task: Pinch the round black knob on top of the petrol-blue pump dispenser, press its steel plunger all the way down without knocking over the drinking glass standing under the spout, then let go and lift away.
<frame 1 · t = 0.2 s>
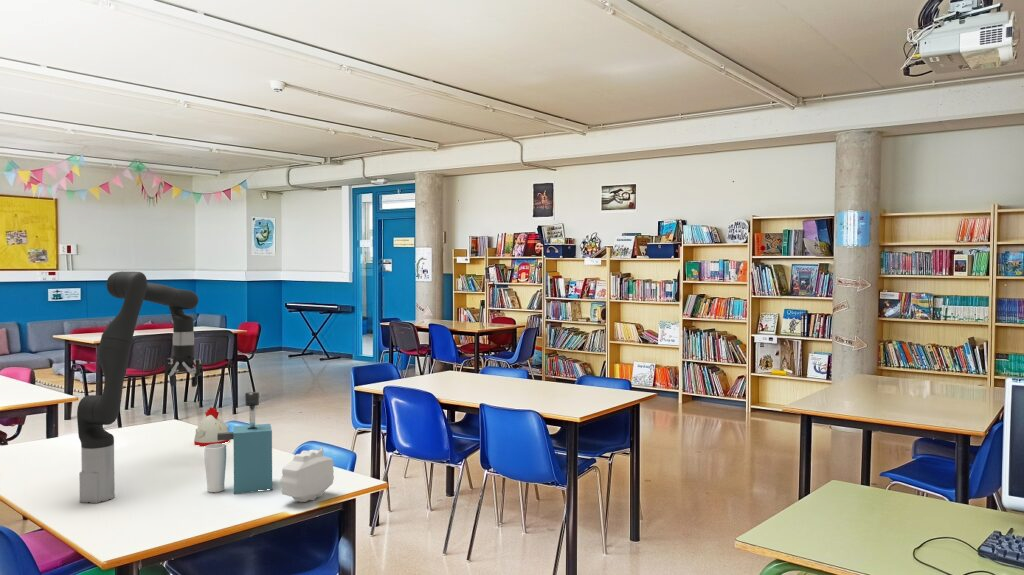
hand: (183, 386, 284), 29 cm above the table, tool pointing down, fingers open, 8 cm apart
dispenser: (252, 487, 253), on the table
kitchen timer: (212, 443, 318), on the table
drinking glass: (215, 491, 249), on the table
white stepped block: (306, 500, 240), on the table
plunger: (252, 415, 253), point 25 cm above the table, slide at 0.0 cm
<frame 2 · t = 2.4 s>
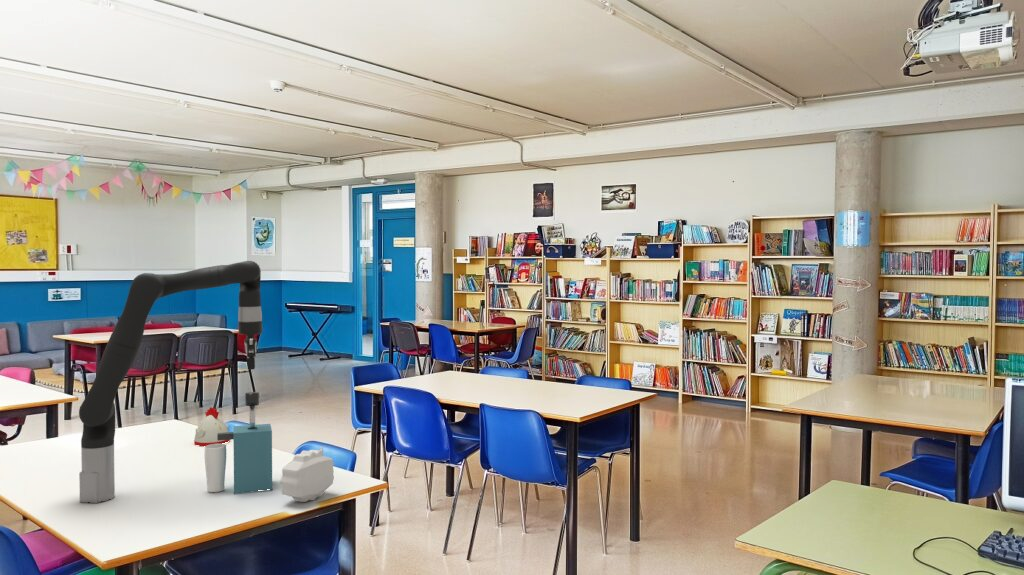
hand: (251, 367, 253), 40 cm above the table, tool pointing down, fingers open, 8 cm apart
nothing on the table moved.
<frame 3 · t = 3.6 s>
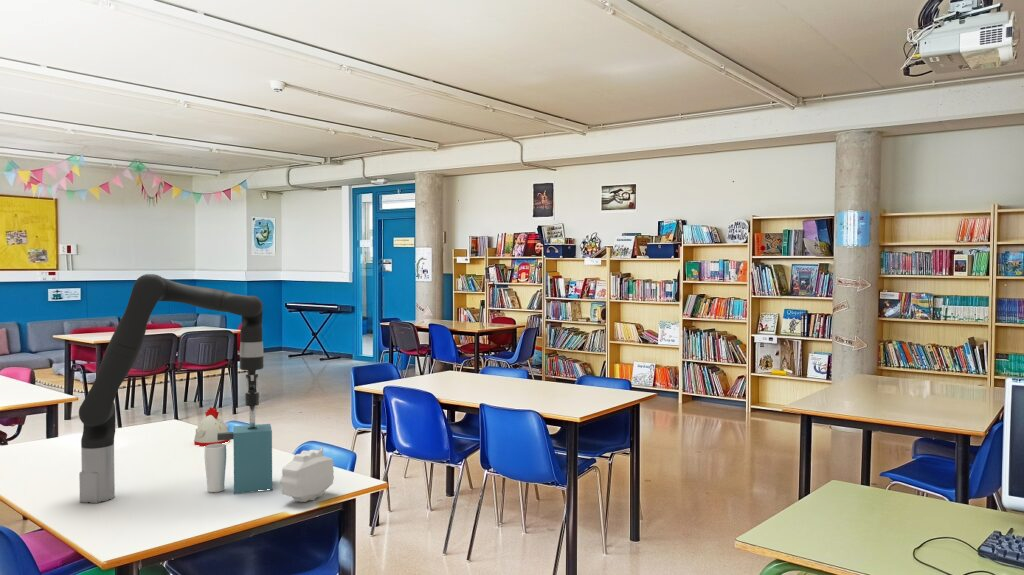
hand: (252, 403, 252), 29 cm above the table, tool pointing down, fingers open, 8 cm apart
nothing on the table moved.
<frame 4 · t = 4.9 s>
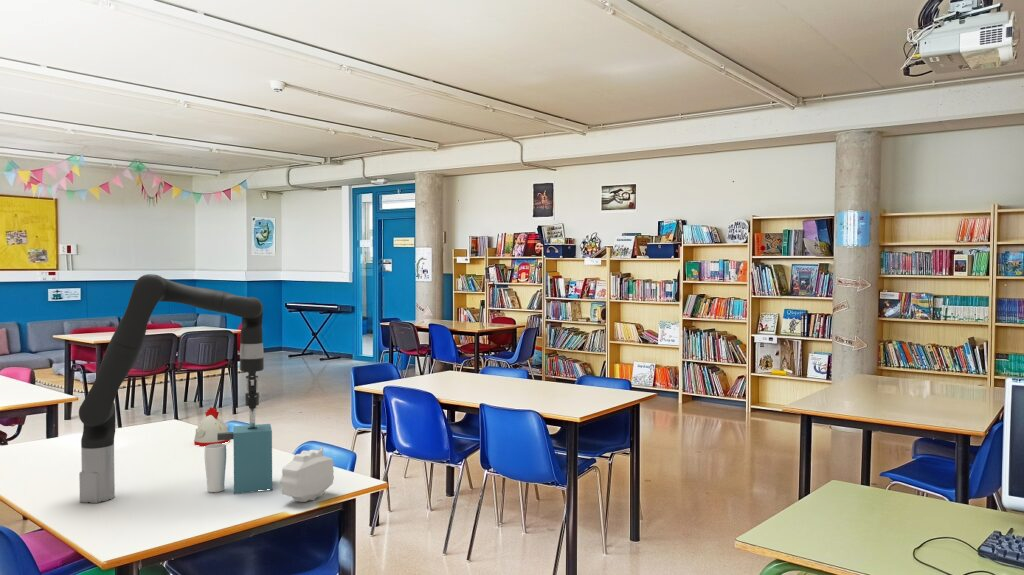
hand: (252, 406, 253), 27 cm above the table, tool pointing down, fingers closed on plunger, 4 cm apart
plunger: (252, 415, 253), point 24 cm above the table, slide at 0.0 cm, touching gripper
everything else where it was.
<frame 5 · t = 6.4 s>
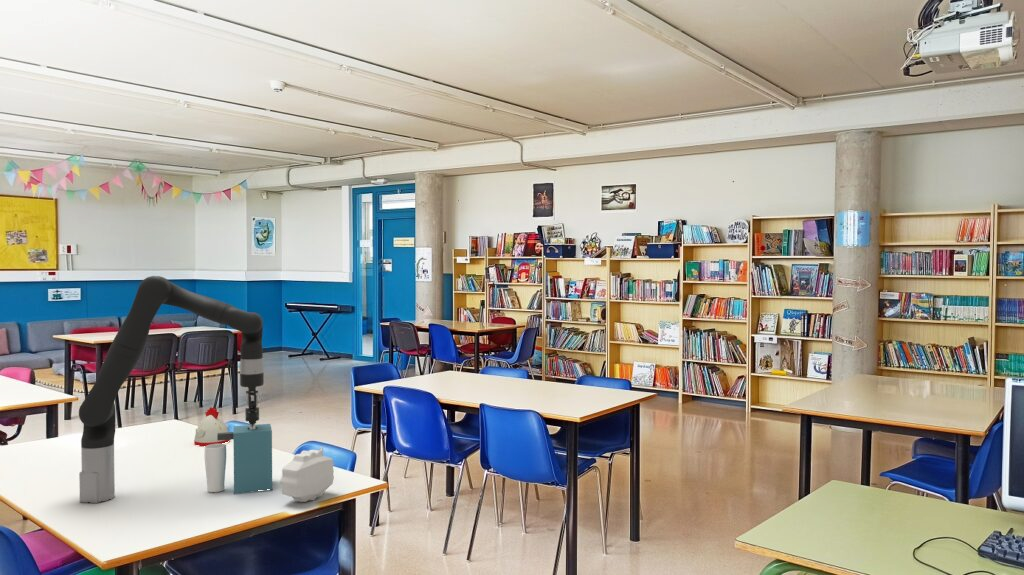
hand: (252, 422, 253), 22 cm above the table, tool pointing down, fingers closed on plunger, 4 cm apart
plunger: (252, 430, 253), point 19 cm above the table, slide at 5.2 cm, touching gripper
everything else where it was.
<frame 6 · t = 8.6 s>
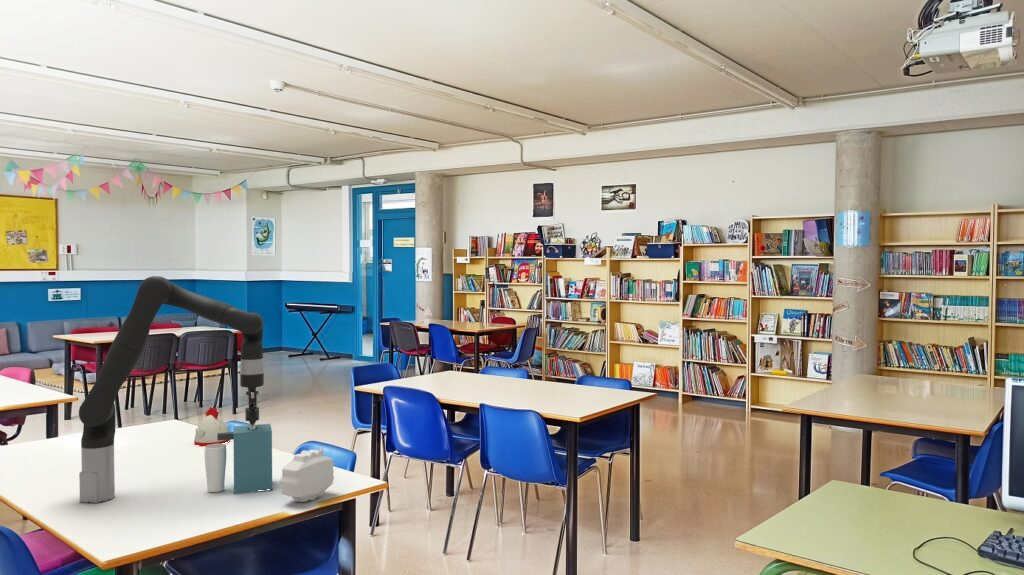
hand: (252, 419, 253), 23 cm above the table, tool pointing down, fingers open, 8 cm apart
plunger: (252, 430, 253), point 19 cm above the table, slide at 5.1 cm
everything else where it was.
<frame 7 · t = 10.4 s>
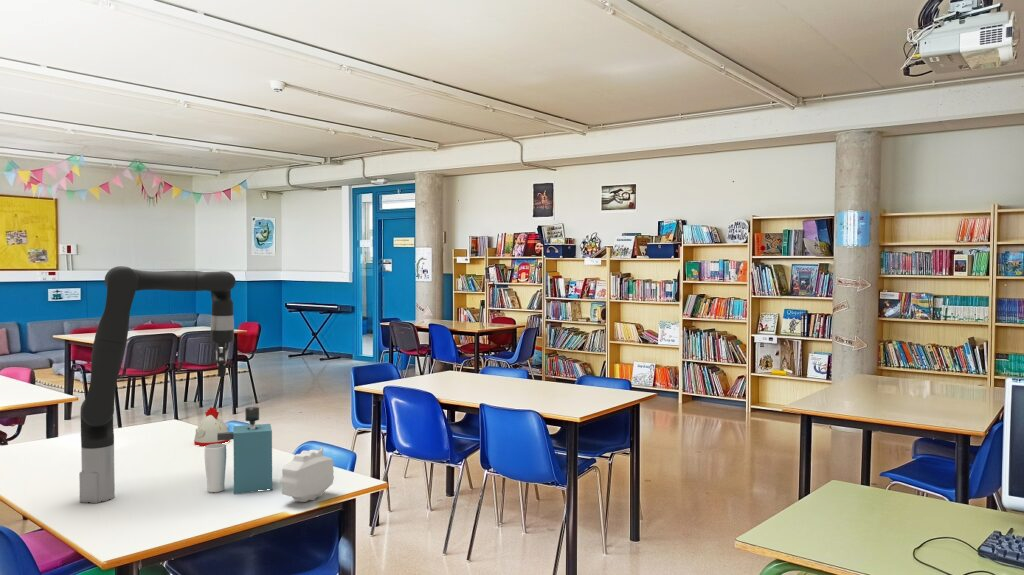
hand: (221, 375, 261), 37 cm above the table, tool pointing down, fingers open, 8 cm apart
nothing on the table moved.
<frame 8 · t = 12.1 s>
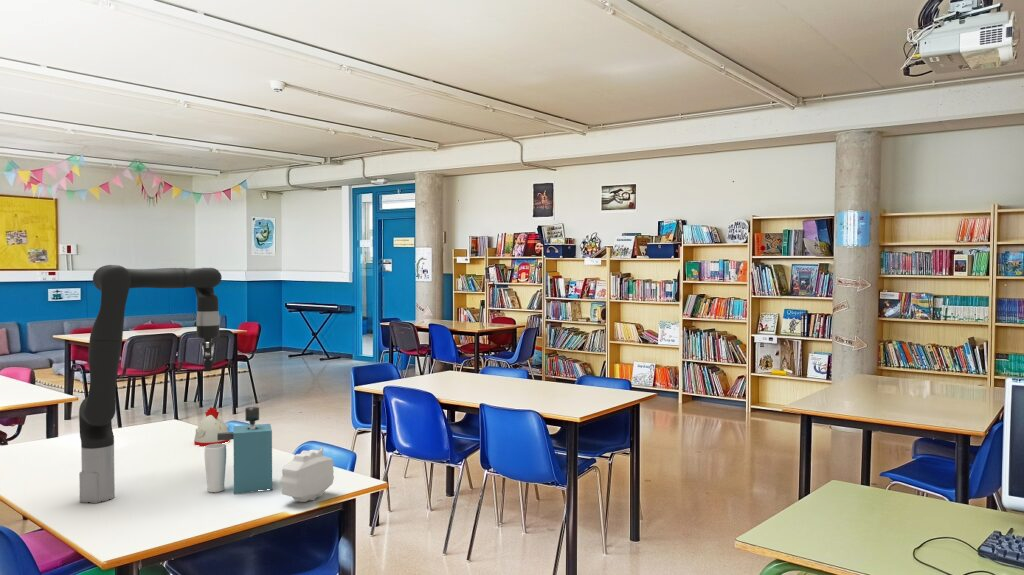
hand: (208, 369, 265), 38 cm above the table, tool pointing down, fingers open, 8 cm apart
nothing on the table moved.
at the end: plunger slide at 5.1 cm; the gripper is holding nothing; drinking glass tilted 0° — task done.
